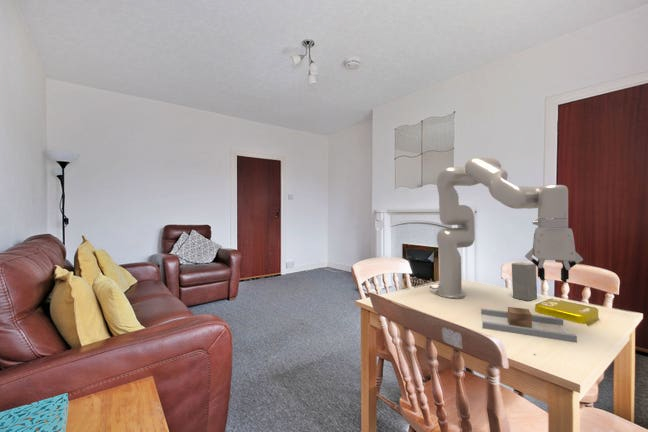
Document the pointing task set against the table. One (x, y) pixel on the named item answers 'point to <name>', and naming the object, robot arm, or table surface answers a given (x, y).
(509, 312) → the walnut block
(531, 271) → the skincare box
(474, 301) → the table surface
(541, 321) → the grey rail tray
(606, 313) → the table surface
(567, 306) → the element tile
